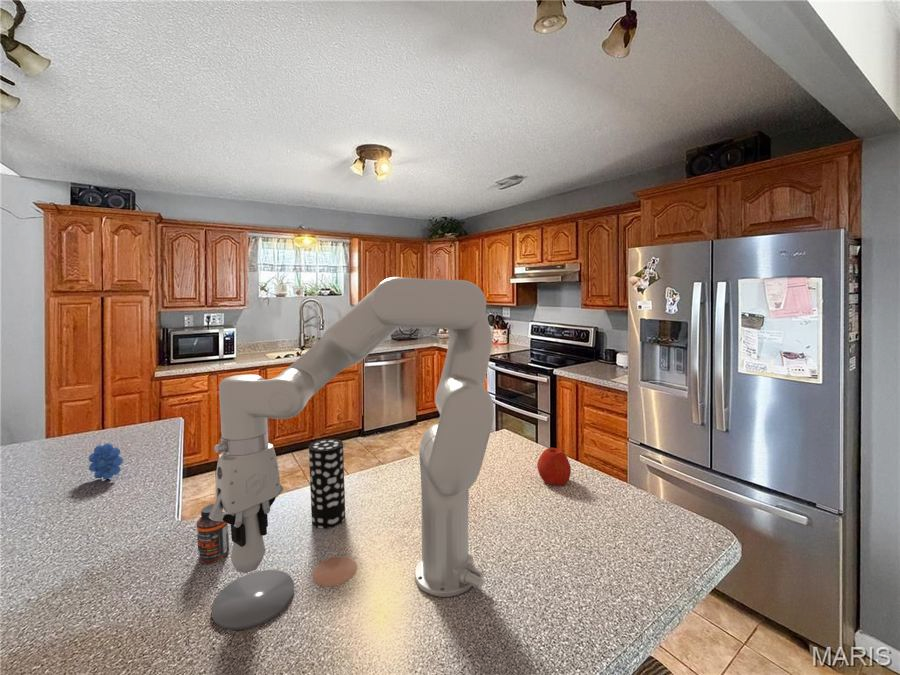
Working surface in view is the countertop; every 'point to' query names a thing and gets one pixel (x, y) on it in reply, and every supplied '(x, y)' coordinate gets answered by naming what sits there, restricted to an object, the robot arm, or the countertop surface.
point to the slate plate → (252, 599)
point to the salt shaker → (249, 543)
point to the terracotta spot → (334, 571)
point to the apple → (554, 467)
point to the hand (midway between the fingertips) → (250, 537)
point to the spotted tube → (327, 483)
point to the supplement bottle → (211, 537)
